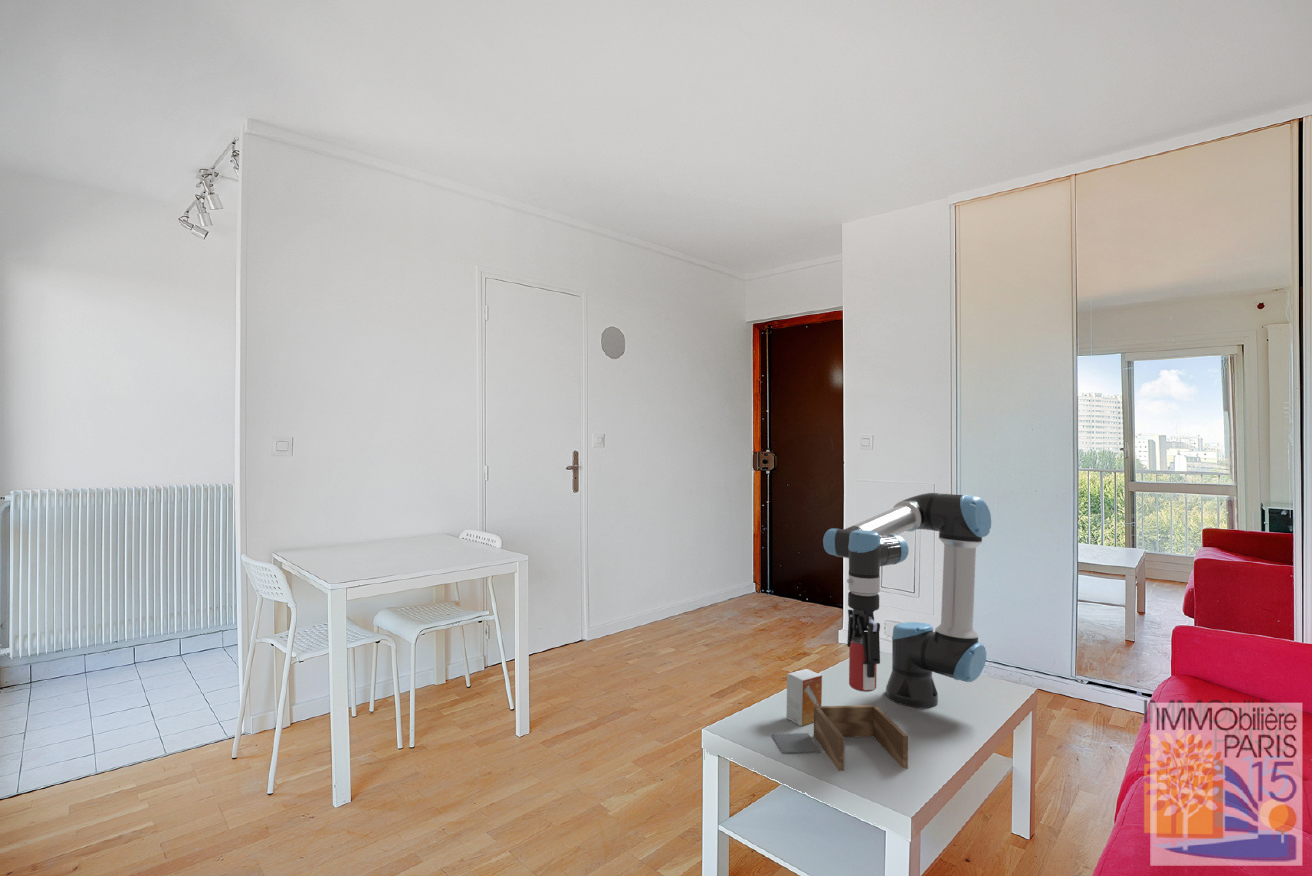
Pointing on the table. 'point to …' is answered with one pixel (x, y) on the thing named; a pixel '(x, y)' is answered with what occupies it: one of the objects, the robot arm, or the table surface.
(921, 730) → the table surface
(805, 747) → the place mat
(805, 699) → the small box
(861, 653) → the beer can
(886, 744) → the open wooden enclosure
